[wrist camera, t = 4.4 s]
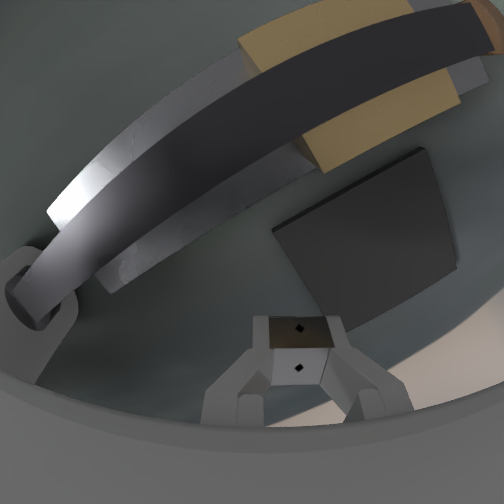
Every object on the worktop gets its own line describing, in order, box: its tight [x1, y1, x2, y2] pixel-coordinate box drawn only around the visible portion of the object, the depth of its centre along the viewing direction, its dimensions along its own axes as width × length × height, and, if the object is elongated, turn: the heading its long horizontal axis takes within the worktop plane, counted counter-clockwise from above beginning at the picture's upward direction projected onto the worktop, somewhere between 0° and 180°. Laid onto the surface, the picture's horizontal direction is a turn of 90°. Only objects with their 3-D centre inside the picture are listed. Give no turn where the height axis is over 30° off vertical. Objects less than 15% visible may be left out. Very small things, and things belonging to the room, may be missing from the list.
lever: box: [4, 2, 495, 331], centre depth 7 cm, size 19×2×1 cm, turn 122°
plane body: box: [47, 0, 504, 294], centre depth 10 cm, size 24×6×7 cm, turn 122°
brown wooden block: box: [237, 0, 461, 174], centre depth 8 cm, size 6×4×4 cm
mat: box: [272, 147, 457, 332], centre depth 16 cm, size 10×9×1 cm
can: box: [0, 246, 78, 384], centre depth 13 cm, size 8×8×12 cm
